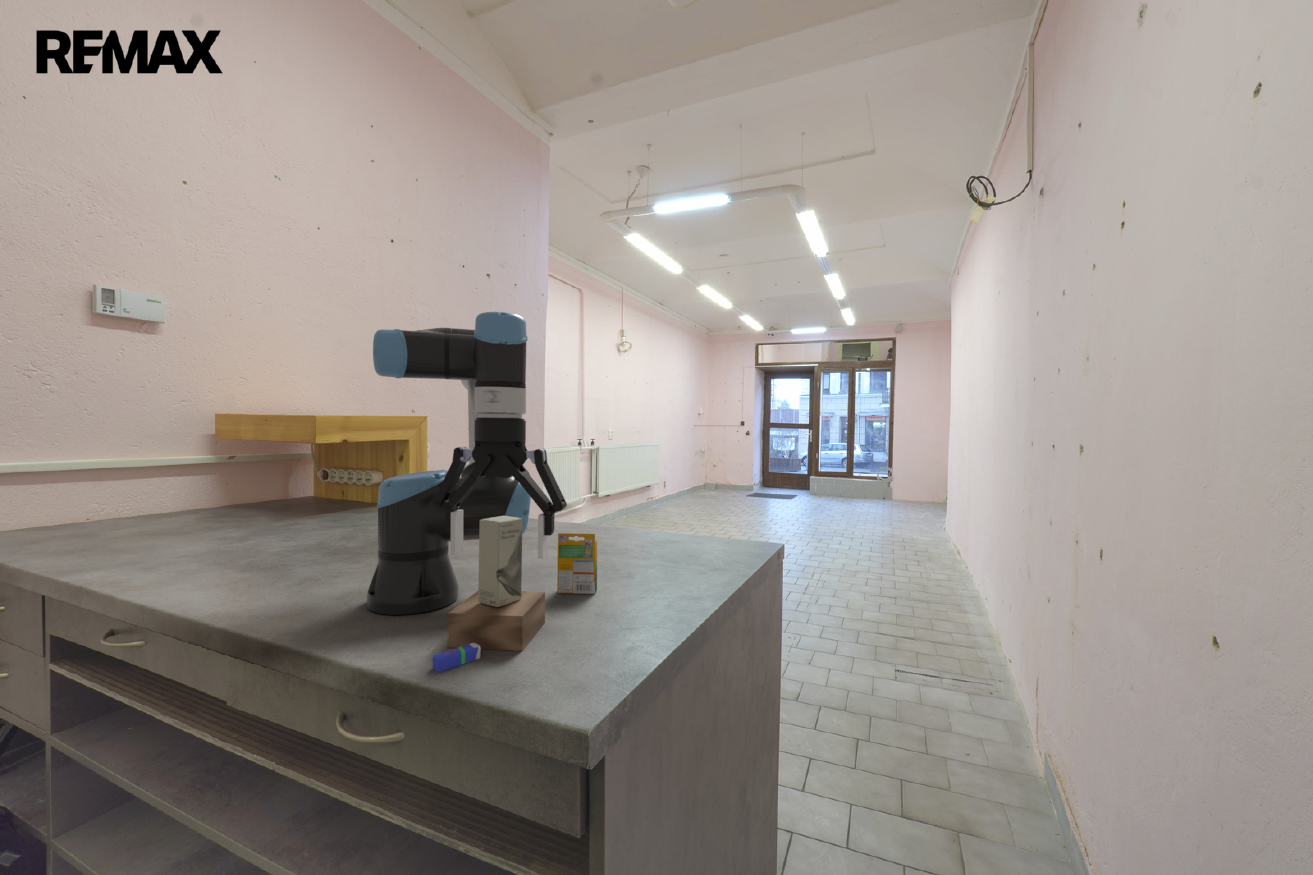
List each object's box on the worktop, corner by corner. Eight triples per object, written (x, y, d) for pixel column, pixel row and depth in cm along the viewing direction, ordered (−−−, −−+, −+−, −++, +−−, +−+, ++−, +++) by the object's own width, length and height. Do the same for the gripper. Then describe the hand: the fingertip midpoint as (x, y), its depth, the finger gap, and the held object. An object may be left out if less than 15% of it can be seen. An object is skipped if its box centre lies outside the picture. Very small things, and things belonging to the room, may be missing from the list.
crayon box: (597, 589, 105) (597, 531, 105) (595, 594, 102) (595, 534, 102) (560, 588, 105) (560, 530, 105) (557, 593, 102) (557, 533, 102)
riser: (448, 647, 77) (448, 613, 77) (479, 619, 88) (479, 589, 88) (522, 651, 76) (522, 616, 76) (544, 622, 87) (545, 592, 87)
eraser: (481, 659, 74) (481, 645, 74) (439, 674, 69) (439, 659, 69) (473, 655, 75) (473, 641, 75) (432, 669, 71) (432, 654, 71)
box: (497, 609, 79) (498, 522, 79) (477, 603, 81) (477, 519, 81) (523, 599, 84) (523, 517, 83) (503, 594, 86) (503, 514, 86)
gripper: (408, 414, 79) (408, 557, 80) (575, 417, 77) (573, 564, 77) (434, 415, 86) (433, 545, 87) (586, 417, 84) (584, 551, 85)
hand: (499, 554), depth 82 cm, fingers open, 13 cm apart
